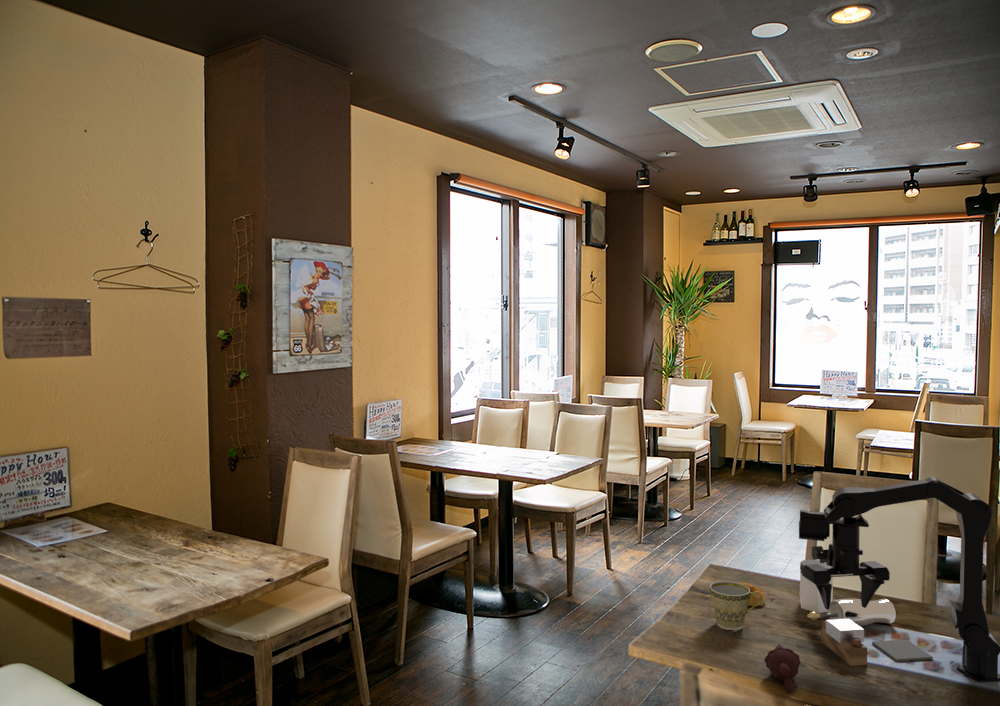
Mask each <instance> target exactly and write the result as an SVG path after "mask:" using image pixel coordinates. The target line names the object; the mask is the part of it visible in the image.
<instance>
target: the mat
mask: <svg viewBox="0 0 1000 706" xmlns="http://www.w3.org/2000/svg"><path fill="white" fill-rule="evenodd" d="M871 645H872V646H873V647H876V648H877V649H878V650H880V651H881V652H882V653H884V654H885V655H886V656H888V657H889V658H891V659H892V660H893V661H894V662H896V663H897V662H898V663H899V661H900V662H911V661H910V660H916V661H928V659H932V660H934V659H933V658H934V657H933V656H932V655H931V654H929V653H928V652H926V651H924V650H923V649H922V648H920V647H919V646H917V645H915V644H914V643H913V642H911V641H910V640H908V639H895V640H879V641H876V640H875V641H871Z"/></svg>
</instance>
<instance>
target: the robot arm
mask: <svg viewBox="0 0 1000 706" xmlns="http://www.w3.org/2000/svg"><path fill="white" fill-rule="evenodd" d="M927 499H936V500H937V501H938V502H941V503H942V504H944V505H946V506H947V507H949V508H951V509H952V510H953V511H955V513H956V514H955V515H956V520H957V524H958V526H959V527H958V528H959V531H960V569H959V570H960V571H959V572H960V574H959V578H960V579H959V581H960V582H959V595H958V598H957V599H956V600H957V601H954V600H949V605H950V613H949V615H948V617H949V620H950V622H951V623H952V625H953V627H954V629H956V631H957V633H958V635H959V637H960V638H961V639H962V640H963V641H962V642H963V646H962V651H961V652H962V654H961V660H962V661H961V662H962V663H961V664H957V665H956V669H958V670H959V671H961V672H962V673H964V674H966V675H967V676H968V677H970V678H972V679H973V680H975V681H976V682H988V681H989V682H991V681H993V682H994V681H1000V673H999V671H998V670H999V669H998V668H999V655H1000V644H999V642H998V641H997V640H996V637H995V636H994V635H993V633H992V631H991V630H990V629H989V625H988V619H987V615H986V610H985V608H984V605H983V588H984V587H983V585H984V584H983V582H984V546H985V545H984V542H985V538H986V535H987V534H988V531H989V530H990V525H991V521H992V517H993V511H992V508H991V506H990V505H989V504H988V503H987V502H986V501H985V500H983V499H982V498H981V497H980V496H979V495H978V494H975V493H971V492H968V493H966V492H963V491H961V490H960V489H957V488H956V487H954V486H951V485H949V484H947V483H945V482H944V481H942V480H941V479H939V478H937V477H935V476H933V477H928V478H924V479H920V480H919V479H918V480H914V481H908V482H900V483H896V484H890V485H885V486H878V487H869V488H868V487H858V486H854V487H852V486H851V487H850V486H849V487H846V486H845V487H840V488H837V489H836V490H835V491H834V492H833V494H832V497H831V501H830V502H829V504H828V505H827V506H825V508H824V509H823V511H822V512H821V511H812V510H811V511H810V510H806V509H800V510H799V520H798V539H799V540H808V541H819V542H825V541H826V540H828V538H830V532H831V531H830V530H831V529H830V528H831V527H830V525H832V541H831V542H832V543H829V544H828V549H824V547H823V545H817V546H816V545H815V546H811V557H812V560H820V563H825V562H827V565H828V566H832V568H830V569H826V568H824V567H823V566H821V565H819V564H810V565H805V566H804V567H803V569H802V576H804V577H805V578H806V579H808V580H809V581H811V582H812V583H814V584H815V585H816V587H817V589H818V591H819V593H820V596H821V599H822V601H823V604H824V607H825V609H827V610H829V607H830V601H831V591H832V585H831V584H830V583H829V582H830V581H831V577H832V578H836V577H837V578H838V577H839V578H841V577H842V578H843V577H856V576H857V577H858V576H859V580H860V583H861V589H860V590H861V591H860V599H861V604H862V607H864V608H866V607H867V605H868V603H869V602H870V601H872V599H873V597H874V595H875V593H876V592H877V590H879V588H880V587H881V585H884V584H886V583H885V581H890V579H891V578H890V577H891V572H890V570H889V568H888V567H886V566H885V565H883V564H881V563H879V562H877V561H875V560H873V561H872V560H871V561H870V560H868V561H861V562H860V556H863V555H864V550H863V549H861V548H860V527H861V528H869V527H870V524H869V522H868V520H866V518H864V517H863V514H865V513H867V512H870V511H871V510H873V509H876V508H879V507H884V506H890V505H891V506H892V505H896V504H902V503H903V504H904V503H909V502H916V501H922V500H927Z"/></svg>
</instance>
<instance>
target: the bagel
mask: <svg viewBox="0 0 1000 706" xmlns="http://www.w3.org/2000/svg"><path fill="white" fill-rule="evenodd" d="M739 583H740V584H743V585H745V586H747V587H748V588H749V589H750V593H752V592H758V593H760V594H761V596H762V602H761V603H760V604H758V605H757V606H756V607H763V606H764V605H765V604H766V602H767V597H766V595H767V594H766V593H765V591H763V590H762V589H761V588H760V587H759V588H758V587H757V586H754V585H752V584H751V583H747V582H743V581H741V582H739ZM760 600H761V597H760V596H759V595H754V596H752V597H751V599H750V600H749V602H748V605H747V607H752V606H753V605H754V604H756V603H758V602H759V601H760Z"/></svg>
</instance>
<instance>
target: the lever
mask: <svg viewBox="0 0 1000 706" xmlns="http://www.w3.org/2000/svg"><path fill="white" fill-rule="evenodd" d="M806 616H807V618H810V619H811V620H813V621H816V620H817V619H818V618H821V619H827V618H828V619H829V618H830V617H838V614H837V613H829V614H828V613H816V612H811V611H809V614H807V615H806Z"/></svg>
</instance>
